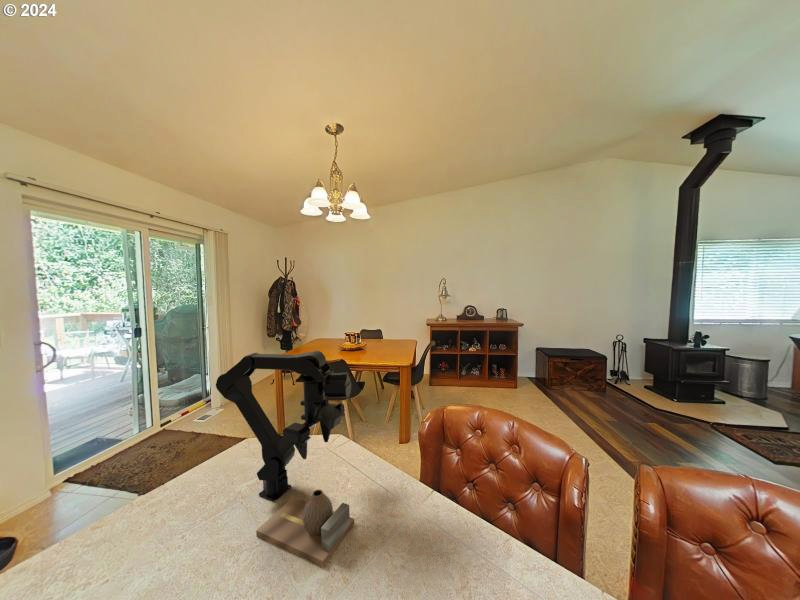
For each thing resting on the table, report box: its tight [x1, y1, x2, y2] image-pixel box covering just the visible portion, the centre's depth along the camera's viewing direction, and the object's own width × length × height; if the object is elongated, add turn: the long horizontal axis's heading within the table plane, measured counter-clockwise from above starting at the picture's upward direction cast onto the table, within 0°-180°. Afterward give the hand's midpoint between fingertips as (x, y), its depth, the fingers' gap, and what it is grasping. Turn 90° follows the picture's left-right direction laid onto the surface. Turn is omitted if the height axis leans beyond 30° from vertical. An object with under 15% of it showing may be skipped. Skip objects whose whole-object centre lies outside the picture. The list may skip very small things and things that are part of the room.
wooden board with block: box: [255, 496, 355, 569], centre depth 69 cm, size 20×12×6 cm, turn 66°
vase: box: [303, 489, 334, 535], centre depth 68 cm, size 7×7×9 cm
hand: (315, 449), depth 82 cm, fingers open, 9 cm apart
